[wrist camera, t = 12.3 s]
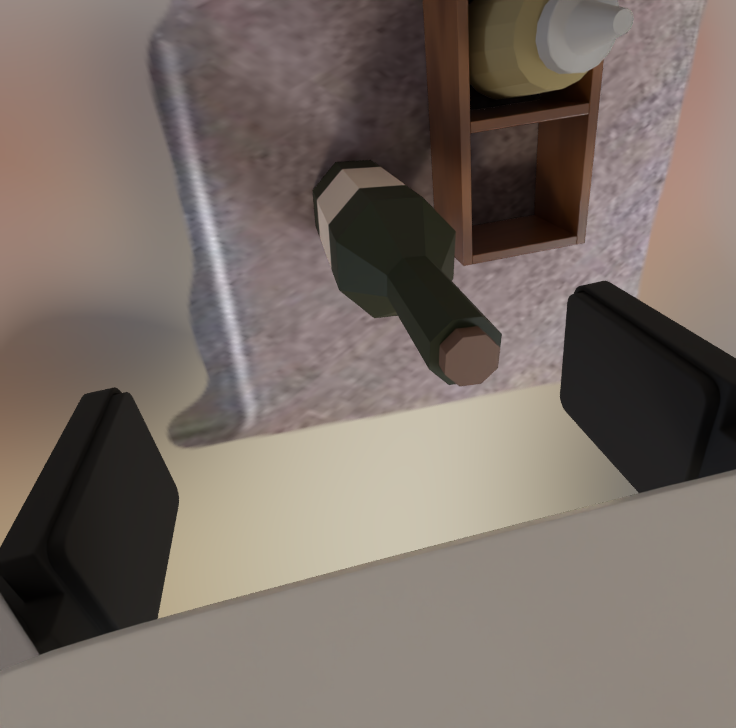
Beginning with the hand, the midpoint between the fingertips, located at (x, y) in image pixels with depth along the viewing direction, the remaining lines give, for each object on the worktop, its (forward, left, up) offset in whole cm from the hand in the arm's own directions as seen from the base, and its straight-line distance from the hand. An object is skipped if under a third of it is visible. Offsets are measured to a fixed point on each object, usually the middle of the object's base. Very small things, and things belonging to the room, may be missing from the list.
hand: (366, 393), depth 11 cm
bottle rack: (-1, +18, -38) cm, 42 cm away
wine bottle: (+5, +5, -38) cm, 39 cm away
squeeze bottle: (-6, +18, -38) cm, 43 cm away
